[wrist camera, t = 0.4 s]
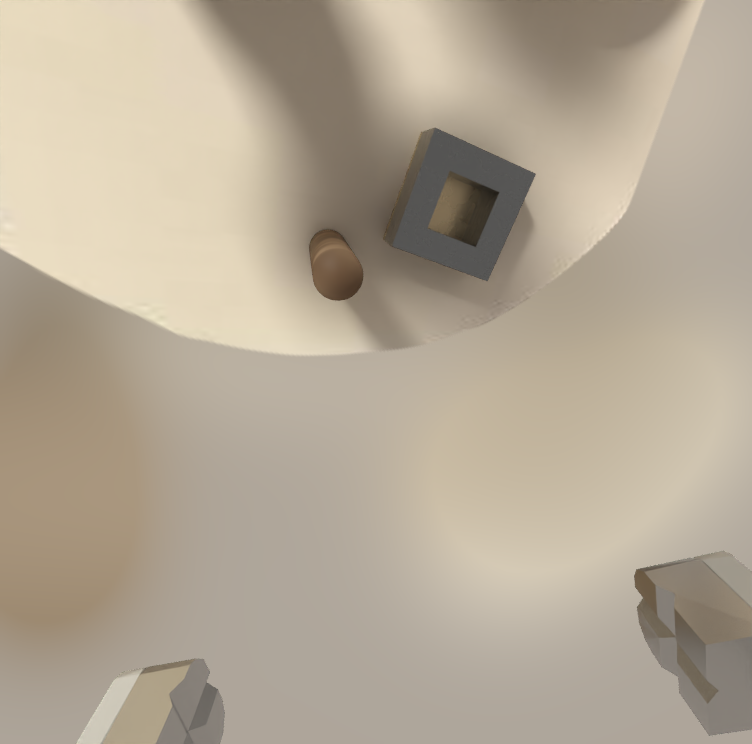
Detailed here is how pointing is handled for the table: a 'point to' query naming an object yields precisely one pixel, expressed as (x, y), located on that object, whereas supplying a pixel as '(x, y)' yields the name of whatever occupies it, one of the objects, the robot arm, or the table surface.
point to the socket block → (457, 204)
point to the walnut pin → (334, 266)
